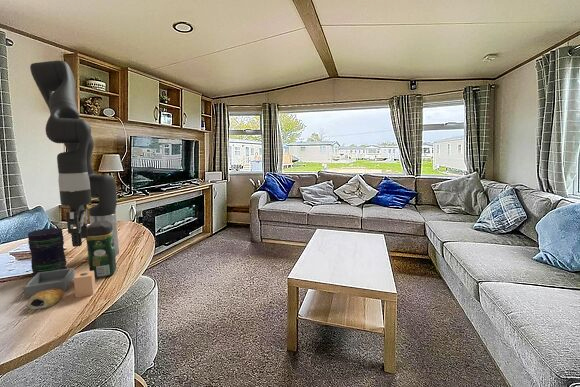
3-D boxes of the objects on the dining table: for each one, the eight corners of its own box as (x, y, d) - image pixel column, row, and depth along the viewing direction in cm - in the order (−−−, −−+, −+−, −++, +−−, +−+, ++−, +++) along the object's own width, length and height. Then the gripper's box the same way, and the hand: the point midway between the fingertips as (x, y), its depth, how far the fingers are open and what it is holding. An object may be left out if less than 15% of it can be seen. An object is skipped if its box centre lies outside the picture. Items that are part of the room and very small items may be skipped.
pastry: (46, 295, 96) (45, 283, 95) (70, 294, 96) (69, 282, 96) (24, 311, 87) (22, 297, 86) (50, 309, 87) (49, 296, 87)
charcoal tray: (38, 281, 105) (37, 272, 104) (74, 276, 109) (73, 268, 108) (25, 297, 94) (24, 287, 93) (65, 291, 98) (64, 281, 97)
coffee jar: (93, 270, 115) (88, 220, 112) (118, 267, 117) (114, 218, 115) (87, 280, 106) (81, 226, 103) (113, 277, 108) (109, 224, 106)
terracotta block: (79, 291, 98) (77, 272, 97) (95, 288, 100) (93, 270, 99) (75, 297, 94) (73, 278, 93) (93, 294, 96) (91, 275, 95)
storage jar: (31, 272, 113) (25, 231, 111) (64, 264, 120) (59, 226, 118) (34, 280, 106) (28, 237, 104) (69, 272, 113) (65, 231, 110)
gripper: (66, 186, 97) (71, 237, 99) (52, 192, 84) (58, 250, 86) (94, 185, 100) (98, 234, 102) (85, 190, 87) (90, 247, 89)
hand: (80, 241), depth 94 cm, fingers open, 8 cm apart
